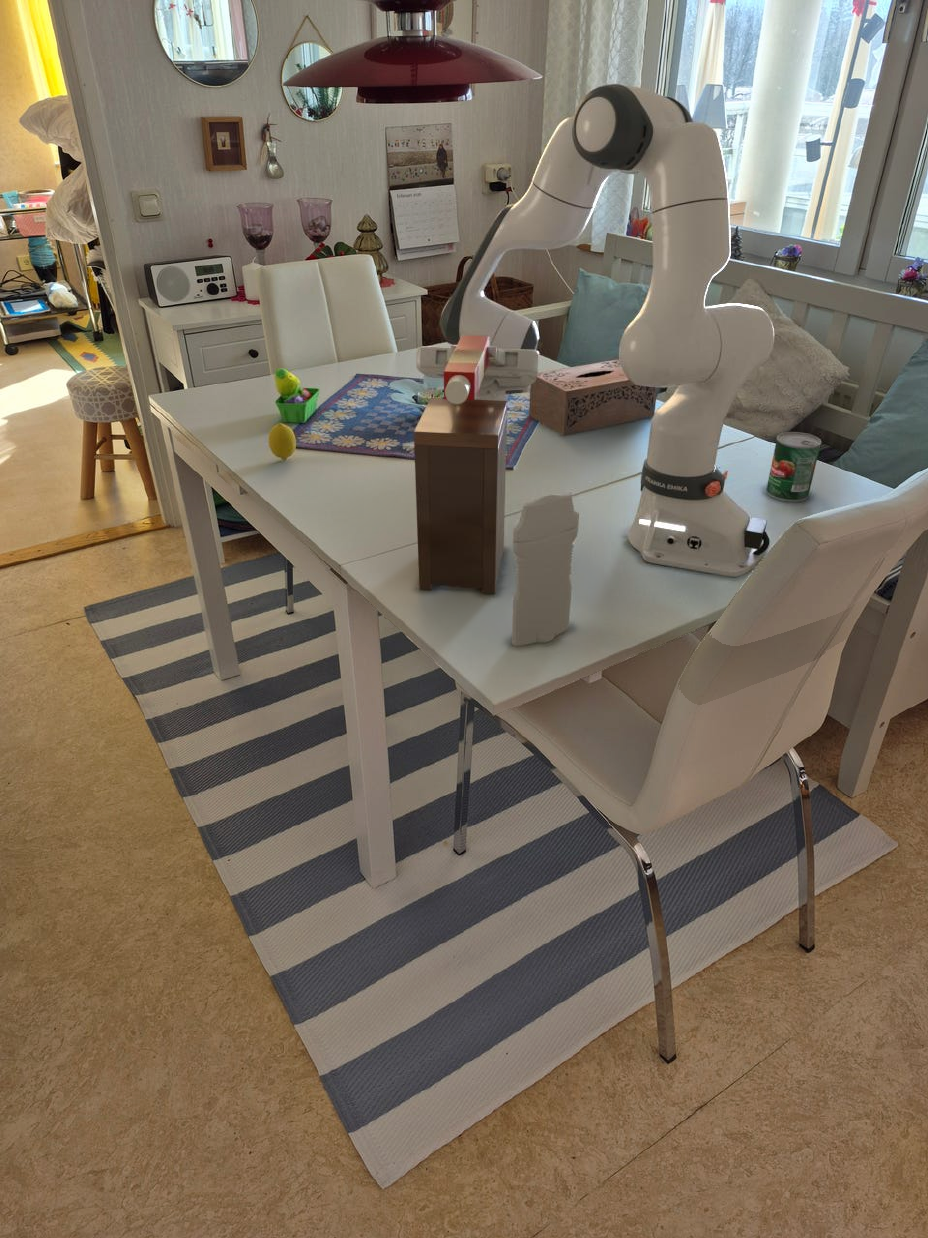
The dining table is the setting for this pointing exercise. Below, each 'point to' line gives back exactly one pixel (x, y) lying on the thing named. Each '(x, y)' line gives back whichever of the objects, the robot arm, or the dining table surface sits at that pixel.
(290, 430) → the lemon
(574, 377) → the tissue box cover
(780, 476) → the canned tomato
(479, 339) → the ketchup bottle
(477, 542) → the walnut stand
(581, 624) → the dining table surface
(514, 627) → the tall pale column
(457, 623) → the dining table surface
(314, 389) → the fruit basket
